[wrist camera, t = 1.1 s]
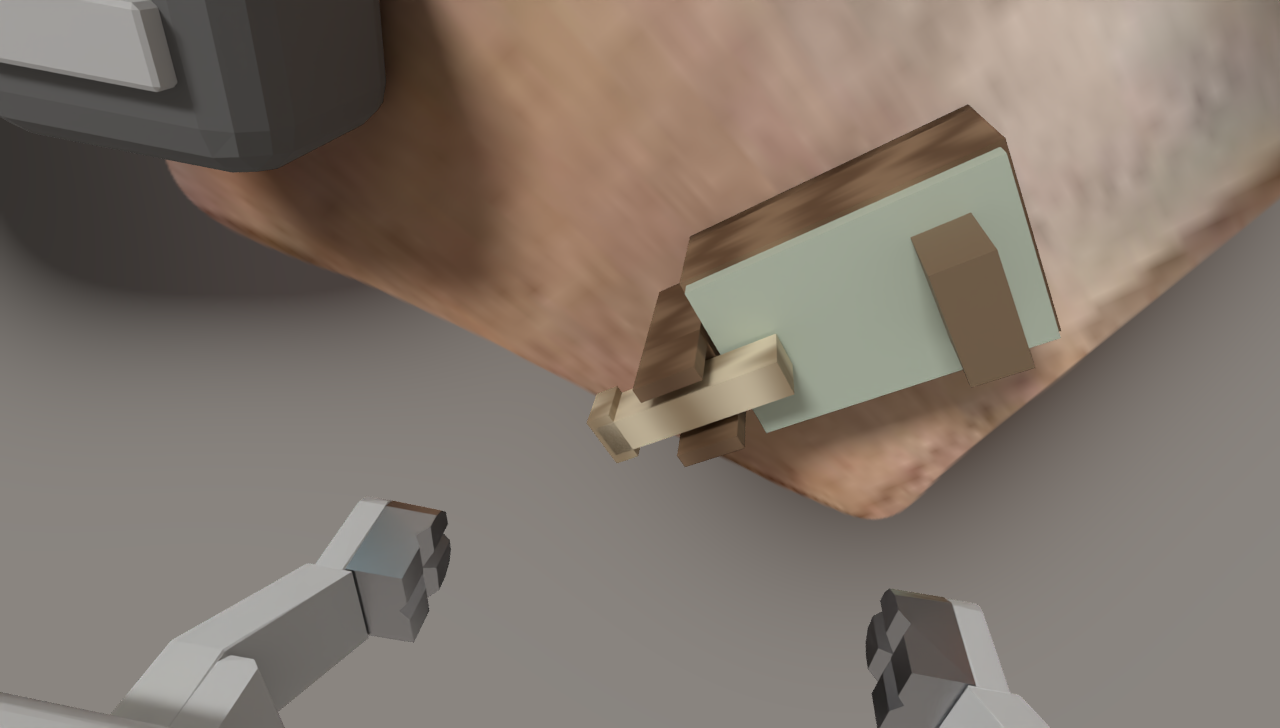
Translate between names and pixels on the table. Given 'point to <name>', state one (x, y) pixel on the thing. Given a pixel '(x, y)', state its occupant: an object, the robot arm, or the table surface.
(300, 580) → the robot arm
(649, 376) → the chest
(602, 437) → the bar
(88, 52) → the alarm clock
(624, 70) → the table surface
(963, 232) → the lid
